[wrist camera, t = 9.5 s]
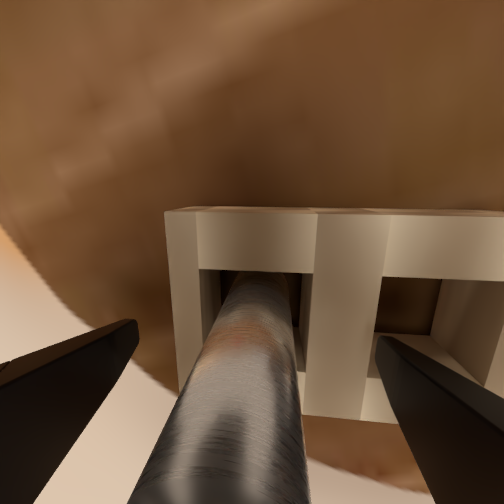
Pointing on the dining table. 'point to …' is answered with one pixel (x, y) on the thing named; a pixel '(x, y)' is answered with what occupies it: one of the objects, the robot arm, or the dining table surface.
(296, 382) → the metal pin
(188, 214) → the pin block
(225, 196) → the dining table surface
